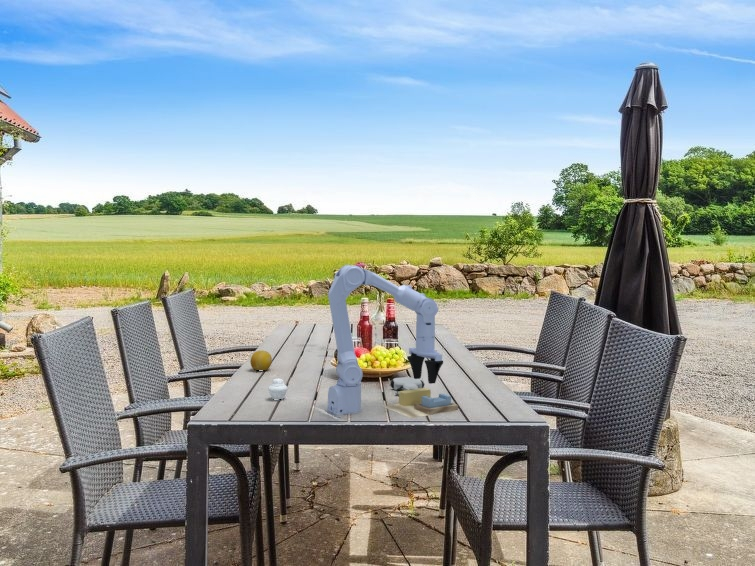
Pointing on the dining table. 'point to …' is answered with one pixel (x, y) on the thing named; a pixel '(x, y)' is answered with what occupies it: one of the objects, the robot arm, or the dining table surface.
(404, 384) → the robot toy
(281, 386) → the white lidded jar
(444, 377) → the dining table surface
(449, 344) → the dining table surface
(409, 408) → the jig
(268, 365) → the fruit
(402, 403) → the yellow rectangular block
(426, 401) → the blue notched block
